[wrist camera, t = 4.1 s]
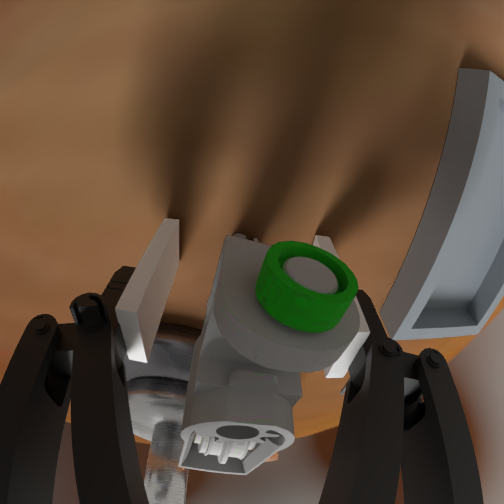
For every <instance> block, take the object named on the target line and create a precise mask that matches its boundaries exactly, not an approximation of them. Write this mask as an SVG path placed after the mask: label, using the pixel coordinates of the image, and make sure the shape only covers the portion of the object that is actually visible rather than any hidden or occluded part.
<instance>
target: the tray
mask: <svg viewBox="0 0 504 504" xmlns="http://www.w3.org/2000/svg"><path fill="white" fill-rule="evenodd" d="M503 295H504V81H503V80H502V79H500V78H499V77H498V76H496V75H495V74H494V73H493V72H491V71H490V70H480V69H468V68H459V72H458V79H457V86H456V92H455V98H454V104H453V109H452V114H451V119H450V124H449V128H448V133H447V137H446V141H445V145H444V149H443V153H442V156H441V160H440V164H439V167H438V170H437V174H436V177H435V180H434V184H433V187H432V190H431V193H430V196H429V199H428V202H427V205H426V207H425V210H424V213H423V216H422V219H421V221H420V224H419V226H418V229H417V232H416V234H415V237H414V239H413V242H412V244H411V247H410V249H409V251H408V254H407V256H406V258H405V261H404V263H403V265H402V267H401V270H400V272H399V274H398V276H397V278H396V280H395V282H394V285H393V287H392V289H391V291H390V293H389V295H388V297H387V299H386V301H385V303H384V305H383V307H382V309H381V311H380V312H379V313H380V315H381V318H382V320H383V322H384V324H385V327H386V329H387V331H388V333H389V336H390V338H391V339H393V340H412V339H430V338H444V337H456V336H466V335H475V334H478V333H479V332H480V330H481V329H482V328H483V326H484V325H485V323H486V322H487V320H488V319H489V317H490V316H491V314H492V313H493V311H494V310H495V308H496V307H497V305H498V303H499V302H500V300H501V299H502V297H503Z"/></svg>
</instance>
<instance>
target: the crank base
mask: <svg viewBox="0 0 504 504" xmlns="http://www.w3.org/2000/svg"><path fill="white" fill-rule="evenodd" d="M201 332H202V330H198V329H194V328H190V327H186V326H180V325H175V324H167V323H159V327H158V330H157V333H156V336H155V340H154V343H153V346H152V349H151V353H150V356H149V360H148V363H144V362H139V361H134V360H129V358H128V355H127V351H126V354H125V357H124V359H123V362H124V365H125V370H126V381H127V382H128V381H131V380H137V379H161V380H169V381H174V382H180V383H184V384H188V382H189V375H190V369H191V363H192V358H193V352H194V346H195V343H196V340H197V339H198V338H199V336H200V335H201ZM277 459H278V451H277V452H276V453H275V454H273V455H272V456H271V457H270V458H268V459H267V460H266V461H264V462H268V461H274V460H277Z"/></svg>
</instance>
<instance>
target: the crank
mask: <svg viewBox="0 0 504 504" xmlns="http://www.w3.org/2000/svg"><path fill="white" fill-rule="evenodd" d="M187 388H188V384H184V383H180V382H174V381H169V380H161V379H137V380H131V381H128V382H127V391H128V400H129V407H130V415H131V421H132V428H133V434H135V435H137V436H139V437H142V438H144V439H146V440H149V441H151V445H150V451H149V456H148V462H147V468H146V475H145V481H144V486H145V490H146V494H147V498H148V501H149V504H185V499H186V488H187V477H188V476H187V475H188V468H182V467H178V463H179V455H180V447H181V439H182V438H181V428H182V421H183V414H184V407H185V401H186V394H187Z"/></svg>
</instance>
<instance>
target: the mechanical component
mask: <svg viewBox="0 0 504 504" xmlns="http://www.w3.org/2000/svg"><path fill="white" fill-rule="evenodd" d="M246 237H247V236H245V235H243V234H240V233H236V234H234V235H233V236H230V235H226V237H225V240H224V243H223V247H222V251H221V254H220V258H219V262H218V266H217V270H216V274H215V278H214V282H213V286H212V290H211V294H210V297H209V299H208V301H207V311H206V315H205V319H204V324H203V328H202V332H201V335H200V336H199V338H198V339H197V340H196V343H195V346H194V352H193V358H192V363H191V369H190V375H189V382H188V388H187V394H186V401H185V407H184V414H183V421H182V428H181V438H182V439H181V447H180V455H179V463H178V467H182V468H188V469H194V470H201V471H208V472H217V473H226V474H238V475H239V474H240V475H246V474H248V473H249V472H250V471H252V470H253V469H255V468H256V467H258V466H259V465H260V464H262V463H263V462H264V461H266V460H267V459H268V458H270V457H271V456H272V455H273V454H275V453H276V452H277V451H280V450H283V449H285V448H287V447H288V446H290V445H291V444H292V443H293V442H294V440H295V439H294V426H293V414H292V407H293V406H294V405H295V404H296V402H297V401H298V400H299V399H300V398H301V397H302V396H303V395H302V388H301V380H300V372H314V371H319V370H322V369H325V368H327V367H329V366H331V365H332V364H333V363H335V362H336V361H337V360H338V359H339V358H340V356H341V355H342V354H343V352H344V351H345V350H346V349H347V347H348V346H349V345H350V343H351V342H352V341H353V339H354V338H355V336H356V335H357V333H358V331H359V327H360V315H359V312H358V308H357V306H356V303H355V301H354V298H355V296H356V294H357V291H358V283H357V279H356V277H355V276H354V274H353V272H352V271H351V270H350V269H349V268H348V266H347V265H346V264H345V263H343V262H342V261H341V260H340V259H338V258H337V257H336V256H334V255H332V254H331V253H329V252H327V251H325V250H323V249H321V248H319V247H316V246H313V245H310V244H307V243H303V242H296V241H285V242H278V243H276V244H274V245H267V244H263V243H259V241H258V238H253V241H251V240H246Z"/></svg>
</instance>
